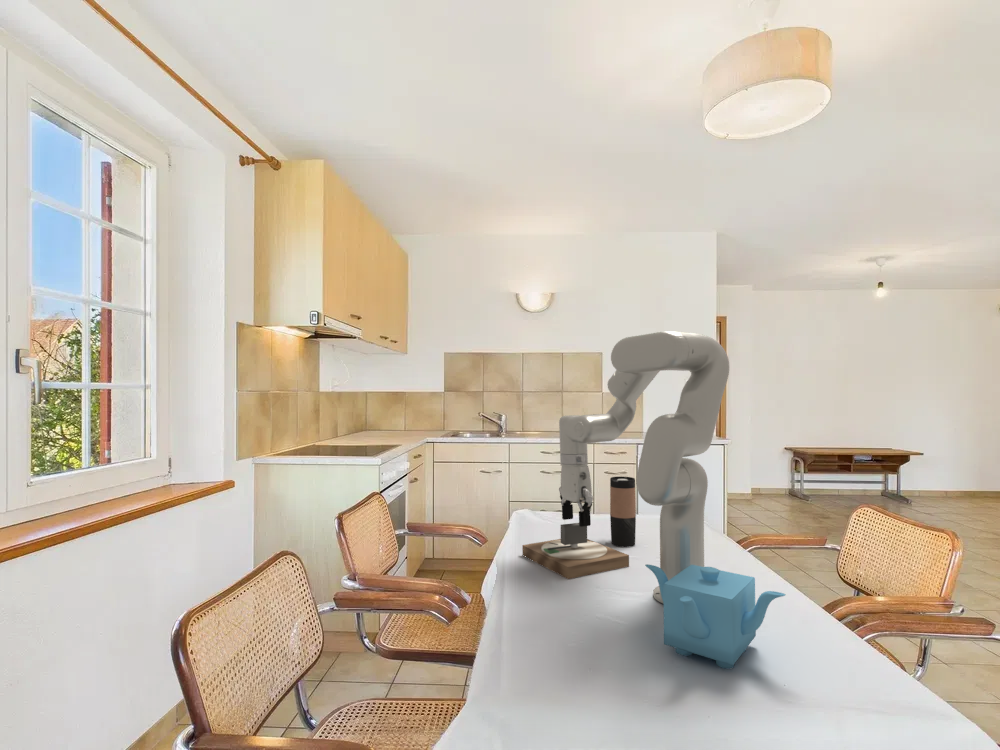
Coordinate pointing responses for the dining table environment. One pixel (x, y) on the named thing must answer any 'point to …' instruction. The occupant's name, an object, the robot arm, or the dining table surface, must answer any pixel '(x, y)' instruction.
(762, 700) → the dining table surface
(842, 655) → the dining table surface
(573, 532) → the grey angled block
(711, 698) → the dining table surface
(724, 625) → the teakettle
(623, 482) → the travel mug
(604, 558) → the brown wooden flat block
